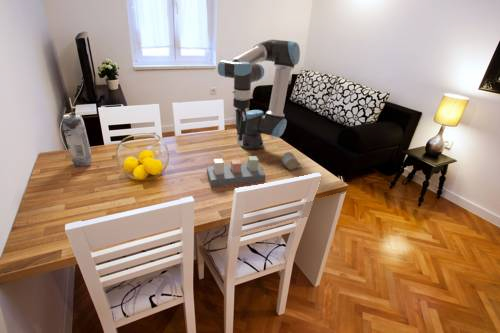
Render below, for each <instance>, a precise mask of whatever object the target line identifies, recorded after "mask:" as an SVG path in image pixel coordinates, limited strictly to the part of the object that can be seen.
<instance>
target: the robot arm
mask: <svg viewBox="0 0 500 333" xmlns="http://www.w3.org/2000/svg"><path fill="white" fill-rule="evenodd" d="M300 55H301V49H300V46H299V44H298V42H295V41H291V40H281V39H268V40H264V41H262V42H258V43H257V44H255V45H253V47H252V48H251V49H250V50H247V51H245V52H243V53H242V54H240V55H238V56H236V57H234V58H233V59H230V60H226V59H225V60H220V61H219V62H218V64H217V73H218V75H219V76H221V77H224V78H230V79H233V90H232V94H233V100H232V103H233V104H232V105H233V107H234V108H236V109H235V129H236V146H237V147H241V148H242V149H244V150H248V151H257V150H261V149H262V148H263V147H264V141H263V137H262V135H263V134H264V135H265V136H266V135H267V136H271V137H273V138H275V137H276V138H279V137H282V135H283V134H284V132H285V129H286V127H287V123H288V120H287V119H286V118H285V113H284V108H285V103H286V97H287V91H288V87H289V81H290V77H291V71H292V70H293V69H294V68H295V66H296V65H298V64H299V61H300V58H301V56H300ZM266 61H267V62H271V63H272V62H274V63H273V66H274V68H275V71H274V78H273V84H272V89H271V95H270V100H269V106H268V110H267V111H266V112H265V114H264V111H263V110H260V109H252V110H247V111H246V109H249V108H250V104H251V103H250V102H251V99H250V98H251V91H252V90H251V87H252V86H251V85H252V83H255V82H258V81H260V80H262V79H263V77H264V76H265V68H264V67H263V66H262V65H261V64H259V63H262V62H266Z"/></svg>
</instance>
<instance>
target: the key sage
mask: <svg viewBox="0 0 500 333" xmlns="http://www.w3.org/2000/svg"><path fill="white" fill-rule="evenodd" d="M247 163H248V164H247V169H248V171H249V172H255V171H258V164H259V158H258V157H257V155H254V156H253V155H252V156H251V155H250V156H247Z"/></svg>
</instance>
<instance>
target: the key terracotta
mask: <svg viewBox="0 0 500 333" xmlns="http://www.w3.org/2000/svg"><path fill="white" fill-rule="evenodd" d="M241 164H242V162H241V160H240V159H231V160H230V165H231V172H232V174H233V173H241Z"/></svg>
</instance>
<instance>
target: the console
mask: <svg viewBox="0 0 500 333" xmlns="http://www.w3.org/2000/svg"><path fill="white" fill-rule="evenodd" d="M247 164H248V162H245V163H241V173H233V174H232V172H231V164H224V174H222V175H215V174H214V165H210V166H206V174H207V179H208V182H209V184H210V188H216V186H217V187H225V185H227V186H235V184H237V185H243V184H246V185H247V184H255V183H264V182H266V174H265V172H264V170H263V169H262V167H261V166H260V164H259V163H258V171H255V172H249V171H248V169H247Z"/></svg>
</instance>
